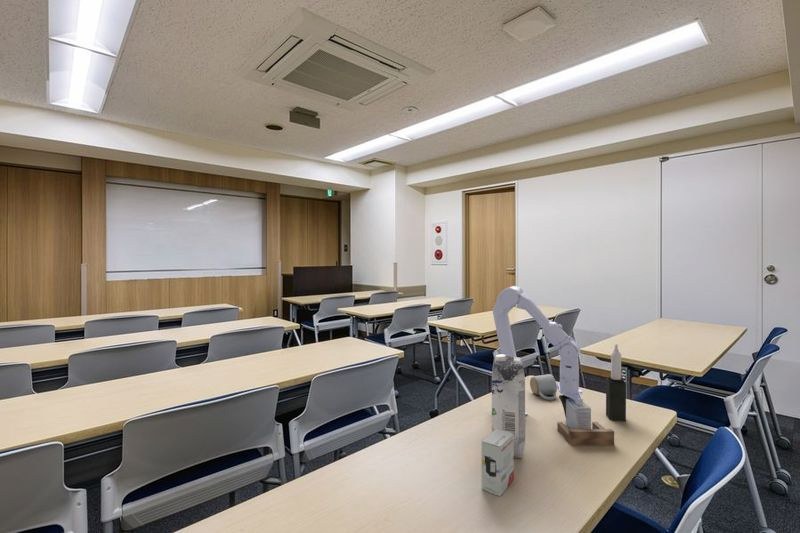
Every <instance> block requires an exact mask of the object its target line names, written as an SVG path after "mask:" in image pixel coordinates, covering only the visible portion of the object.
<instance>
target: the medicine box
mask: <svg viewBox="0 0 800 533" xmlns="http://www.w3.org/2000/svg"><path fill="white" fill-rule="evenodd" d="M591 408H592V407H590V406H589V405H587V403H585V402H584V401H583V405H576V404H575V401H574V400H573V399H566V417H565V426H566V427H567V428H568V429H592V409H591Z"/></svg>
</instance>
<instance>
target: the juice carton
mask: <svg viewBox="0 0 800 533" xmlns="http://www.w3.org/2000/svg"><path fill="white" fill-rule="evenodd" d="M525 411H526V377H525V371H524V365H523V359H522V357H520V356H516V357H510V356H506V355H504V354H501V353H499V354H496V355H494V358H493V364H492V371H491V433H492V432H493V431H494V430H495V429H500V430H503V431H507V432H511V433H513V434H514V459H516V458H517V459H522V458H523V454H524V450H525V445H526V415H525Z"/></svg>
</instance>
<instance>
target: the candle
mask: <svg viewBox="0 0 800 533" xmlns="http://www.w3.org/2000/svg"><path fill="white" fill-rule="evenodd" d="M618 346H619V345H618V344H617V343H616V344H614V348H613V350H612V352H611V353H610V359H611V360H610V376H608V377H606V378H605V416H607V418H608V419H609V420H610V421H614V422H615V421H617V422H626V421H627V382H626V381H625V378H623V377H622V354H621V352H620V351H619V347H618Z"/></svg>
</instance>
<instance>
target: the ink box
mask: <svg viewBox="0 0 800 533" xmlns="http://www.w3.org/2000/svg"><path fill="white" fill-rule="evenodd" d="M514 459H515V457H514V434H513V433H511V432H507V431H503V430H500V429H495V430H494V431H493V432H492V431H491V432H490V433H489V434H488V435H487V436H486V437H484V439H483V440H481V489H482V490H483V489H484V491H486V492H488V493H490V494H492V493H493V495H495V496H497V495H498V496H497V497H500V496H502V494H503V493H504V492H505V491H506V490H507V488H508V487H509V486H510V485H511V484H512V482H513V481H514V479H515V471H514V470H515V468H514V466H515V462H514V461H515V460H514Z"/></svg>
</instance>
